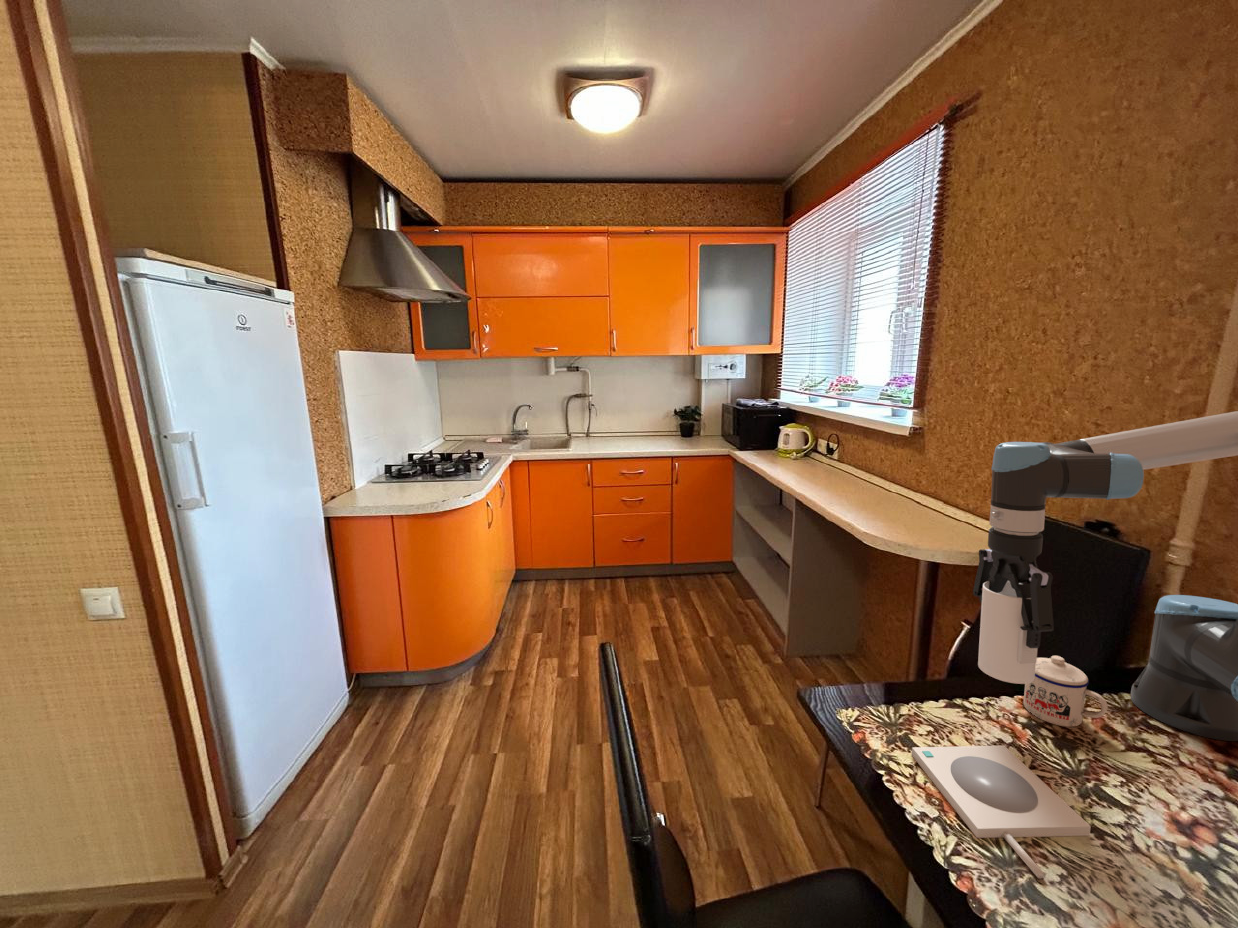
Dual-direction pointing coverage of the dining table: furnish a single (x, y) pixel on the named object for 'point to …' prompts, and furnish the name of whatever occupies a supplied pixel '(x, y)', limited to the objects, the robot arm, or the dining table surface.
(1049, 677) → the teacup with lid
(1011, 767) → the pad
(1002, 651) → the cup
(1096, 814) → the dining table surface
